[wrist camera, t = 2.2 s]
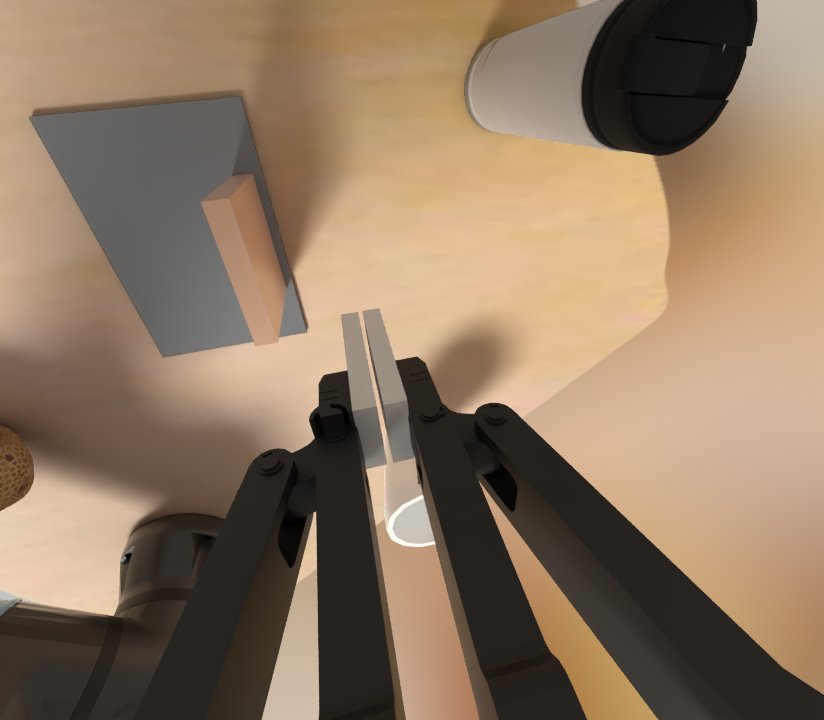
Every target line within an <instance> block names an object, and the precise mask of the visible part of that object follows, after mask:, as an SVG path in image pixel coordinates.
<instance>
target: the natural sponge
mask: <svg viewBox="0 0 824 720" xmlns="http://www.w3.org/2000/svg"><path fill="white" fill-rule="evenodd" d="M33 480H34V466H33V459H32V456H31V453H30V451H29V450H28V448H27V447H26V446H25V444H24V443H23V441H22V440H21V439H20V437H19V436H18V435H17V434H16V433H15V432H13V431H12V430H11V429H9V428H7V427H4V426H0V511H1V510H3V509H5V508H7V507H9V506H11V505H12V504H14V503H16V502H17V501H19V500H20V499H22V498H23V497H24V496H25V495H26V494H27V493H28V492H29V490H30V488H31V486H32V484H33Z"/></svg>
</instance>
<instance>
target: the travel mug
mask: <svg viewBox="0 0 824 720" xmlns="http://www.w3.org/2000/svg"><path fill="white" fill-rule="evenodd" d="M756 23H757V1H756V0H599V1H596V2H594V3H591V4H588V5H586V6H583V7H580V8H577V9H575V10H572V11H569V12H567V13H564V14H561V15H558V16H556V17H553V18H550V19H548V20H545V21H542V22H539V23H537V24H534V25H531V26H529V27H526V28H523V29H521V30H518V31H515V32H512V33H510V34H507V35H504V36H502V37H499V38H496V39H494V40H492V41H490V42H488V43H487V44H485V45H484V46H483V47H482V48H481V49H480V50H479V51H478V52H477V54H476V55H475V56H474V58H473V60H472V62H471V64H470V66H469V68H468V71H467V74H466V79H465V85H464V96H465V103H466V106H467V109H468V112H469V114H470V116H471V118H472V119H473V120H474V122H475V123H476V124H477V125H478V126H480V127H481V128H482V129H485V130H487V131H490V132H497V133H503V134H510V135H516V136H523V137H529V138H536V139H543V140H549V141H556V142H562V143H569V144H575V145H582V146H588V147H595V148H602V149H608V150H615V151H631V152H637V153H644V154H650V155H657V156H661V155H669V154H673V153H675V152H678V151H680V150H682V149H684V148H686V147H687V146H689V145H691V144H692V143H694V142H695V141H696V140H697V139H698V138H700V137H701V136H702V135H703V134H704V133H705V132H706V131H707V130H708V129H709V128H710V127H711V126H712V125H713V124H714V123H715V122H716V120H717V119H718V117H719V115H720V114H721V112H722V111H723V109H724V108H725V106H726V104H727V103H728V101H729V100H726V98H727V97H728V96H729V94H730V93H731V92H732V90H733V87H734V85H735V83H736V81H737V79H738V77H739V75H740V72H741V69H742V66H743V63H744V60H745V58H746V50H747V46H752V42H753V38H754V33H755V28H756Z"/></svg>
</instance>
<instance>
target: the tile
mask: <svg viewBox="0 0 824 720" xmlns="http://www.w3.org/2000/svg"><path fill="white" fill-rule="evenodd" d="M201 204H202V207H203V210H204V212H205V215H206V218H207V220H208V223H209V225H210V228H211V231H212V233H213V236H214V239H215V241H216V244H217V246H218V249H219V252H220V254H221V257H222V260H223V262H224V265H225V267H226V270H227V273H228V275H229V278H230V280H231V283H232V286H233V288H234V291H235V294H236V296H237V299H238V301H239V304H240V307H241V309H242V312H243V315H244V317H245V320H246V322H247V325H248V328H249V330H250V333H251V335H252V338H253V341H254V343H255V346H260V345H266V344H271V343H277V342H278V338H279V332H280V326H281V320H282V314H283V308H284V302H285V295H286V289H287V288H286V285H285V282H284V278H283V275H282V271H281V268H280V265H279V261H278V258H277V255H276V251H275V248H274V244H273V241H272V238H271V234H270V231H269V227H268V224H267V221H266V217H265V214H264V210H263V207H262V204H261V200H260V197H259V193H258V190H257V187H256V183H255V180H254V177H253V173H251V174H243V175H234V176H231V177H230V178H229V179H227V180H226V181H225V182H224V183H223V184H222V185H220V186H219V187H218V188H217V189H216V190H214V191H213V192H212V193H211V194H210V195H208V196H207V197H206V198H205V199H204V200H202V201H201Z"/></svg>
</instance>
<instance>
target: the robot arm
mask: <svg viewBox="0 0 824 720" xmlns="http://www.w3.org/2000/svg"><path fill="white" fill-rule="evenodd" d="M363 317H364V322H365V328H366V334H367V339H368V345H369V350H370V356H371V362H372V366H373V371H374V376H375V380H376V385H377V390H378V394H379V399H380V404H381V408H382V413H383V418H384V422H385V427H386V432H387V436H388V441H389V446H390V450H391V455H392V460H393V463H395V462H399V461H404V460H408V459H413V458H414V457H415V460H416V469H417V478H418V485H419V484H420V485H421V489H422V493H423V497H424V501H425V505H426V509H427V513H428V517H429V521H430V525H431V529H432V533H433V536H434V540H435V544H436V548H437V552H438V556H439V560H440V564H441V568H442V572H443V575H444V580H445V584H446V587H447V591H448V595H449V599H450V603H451V607H452V611H453V615H454V619H455V623H456V627H457V630H458V635H459V638H460V642H461V646H462V650H463V654H464V658H465V661H466V666H467V670H468V674H469V677H470V682H471V686H472V689H473V693H474V697H475V701H476V705H477V710H478V714H479V720H587V719H586V716H585V714H584V712H583V709H582V707H581V705H580V702H579V700H578V698H577V695H576V693H575V691H574V688H573V686H572V684H571V682H570V680H569V677H568V675H567V673H566V671H565V669H564V668H563V666H562V664H561V663H560V661H559V660H558V659H557V658H556V657H555V656H554V655H553V654H552V653H551V652H550V650H549V649H548V647H547V645H546V643H545V641H544V638H543V636H542V634H541V631H540V629H539V626H538V624H537V621H536V619H535V617H534V614H533V612H532V609H531V607H530V604H529V602H528V600H527V597H526V595H525V592H524V590H523V587H522V585H521V583H520V580H519V578H518V575H517V573H516V570H515V568H514V566H513V563H512V561H511V558H510V556H509V553H508V551H507V549H506V546H505V544H504V541H503V539H502V536H501V534H500V532H499V529H498V527H497V525H496V522H495V519H494V517H493V515H492V513H491V510H490V508H489V505H488V503H487V500H486V498H485V495H484V493H483V491H482V488H481V486H480V483H481V484H482V485H483V487H484V488H485V489H486V491H487V492H488V493H489V495H490V496H491V497H492V499H493V500H494V501H495V503H496V504H497V505H498V506H499V508H500V509H501V510H502V512H503V513H504V515H505V516H506V517H507V519H508V520H509V521H510V523H511V524H512V525H513V527H514V528H515V529H516V530H517V532H518V533H519V534H520V536H521V537H522V539H523V540H524V541H525V543H526V544H527V545H528V547H529V548H530V549H531V551H532V552H533V553H534V554H535V556H536V557H537V559H538V560H539V561H540V563H541V564H542V565H543V567H544V568H545V569H546V570H547V572H548V573H549V575H550V576H551V577H552V579H553V580H554V581H555V583H556V584H557V585H558V587H559V588H560V589H561V591H562V592H563V593H564V595H565V596H566V597H567V599H568V600H569V601H570V602H571V604H572V605H573V606H574V608H575V609H576V611H577V612H578V613H579V615H580V616H581V617H582V618H583V620H584V621H585V623H586V624H587V625H588V626H589V628H590V629H591V630H592V632H593V633H594V634H595V636H596V637H597V639H598V640H599V641H600V642H601V644H602V645H603V647H604V648H605V649H606V651H607V652H608V653H609V654H610V656H611V657H612V658H613V660H614V661H615V662H616V664H617V665H618V667H619V668H620V669H621V670H622V672H623V673H624V675H625V676H626V677H627V678H628V680H629V681H630V682H631V684H632V685H633V686H634V688H635V689H636V690H637V692H638V693H639V694H640V696H641V697H642V698H643V700H644V701H645V702H646V704H647V705H648V706H649V708H650V709H651V710H652V712H653V713H654V714H655V716H656V717H657V718H658V720H824V695H823V694H821V693H820V692H818V691H817V690H815V689H814V688H812V687H811V686H809V685H808V684H806V683H805V682H803V681H802V680H800V679H799V678H797V677H796V676H794V675H793V674H791V673H790V672H788V671H787V670H785V669H783V668H782V667H781V666H780V665H779V664H778V663H777V662H776V661H775V660H774V659H773V658H772V657H771V656H770V655H769V654H768V653H767V652H765V650H763V649H762V648H761V647H760V646H759V645H758V644H757V643H756V642H755V641H754V640H753V639H752V638H751V637H750V636H749V635H748V634H747V633H746V632H745V631H744V630H743V629H742V628H740V627H739V626H738V625H737V624H736V623H735V622H734V621H733V620H732V619H731V618H730V617H729V616H728V615H727V614H726V613H725V612H724V611H723V610H722V609H721V608H720V607H718V606H717V605H716V604H715V603H714V602H713V601H712V600H711V599H710V598H709V597H708V596H707V595H706V594H705V593H704V592H703V591H702V590H701V589H700V588H699V587H698V586H696V585H695V584H694V583H693V582H692V581H691V580H690V579H689V578H688V577H687V576H686V575H685V574H684V573H683V572H682V571H681V570H680V569H679V568H678V567H677V566H676V565H675V564H673V563H672V562H671V561H670V560H669V559H668V558H667V557H666V556H665V555H664V554H663V553H662V552H661V551H660V550H659V549H658V548H657V547H656V546H655V545H654V544H653V543H652V542H650V541H649V540H648V539H647V538H646V537H645V536H644V535H643V534H642V533H641V532H640V531H639V530H638V529H637V528H636V527H635V526H634V525H632V523H631V522H630V521H628V520H627V519H626V518H625V517H624V516H623V515H622V514H621V513H620V512H619V511H618V510H617V509H616V508H615V507H614V506H613V505H612V504H611V503H610V502H609V501H607V500H606V499H605V498H604V497H603V496H602V495H601V494H600V493H599V492H598V491H597V490H596V489H595V488H594V487H593V486H592V485H591V484H590V483H589V482H588V481H587V480H586V479H584V478H583V477H582V476H581V475H580V474H579V473H578V472H577V471H576V470H575V469H574V468H573V467H572V466H571V465H570V464H569V463H568V462H567V461H566V460H565V459H563V457H561V456H560V455H559V454H558V453H557V452H556V451H555V450H554V449H553V448H552V447H551V446H550V445H549V444H548V443H547V442H546V441H545V440H544V439H543V438H542V437H541V436H540V435H538V434H537V433H536V432H535V431H534V430H533V429H532V428H531V427H530V426H529V425H528V424H527V423H526V422H525V421H524V420H523V419H522V418H521V417H520V416H519V415H518V414H517V413H515V412H514V411H513V410H512V409H511V408H509V407H508V406H506V405H503V404H500V403H488V404H484V405H482V406H480V407H479V408H478V409H477V410H476V412H475V414H463V413H456V412H453V411H451V410H449V409H448V408H447V406H445V405H444V404H443V403H442V402H441V400H440V397H439V395H438V392H437V390H436V388H435V385H434V383H433V381H432V379H431V376H430V373H429V371H428V369H427V366H426V364H425V362H423V361H422V360H421V359H420V358H418V357H412V358H407V359H402V360H396V361H395V359H394V355H393V352H392V349H391V346H390V342H389V339H388V336H387V333H386V329H385V326H384V323H383V319H382V316H381V313H380V310H379V309H373V310H367V311H363ZM341 318H342V327H343V336H344V344H345V353H346V361H347V370H348V371H343V372H337V373H332V374H327V375H324V376H323V377H322V379H321V381H320V382H319V407H317V408H315V409H314V411H313V412H312V413H311V415H310V418H309V422H310V425H311V428H312V431H313V434H314V437H315V439H314V440H313V441H312V442H311V443H310V444H308V445H307V446H305V447H304V448H302V449H300V450H298V451H296V452H294V453H290V452H289V451H287V450H286V449H272V450H268V451H266V452H264V453H262V454H260V455H259V456H258V457H257V458H255V459H254V461H253V462H252V463H251V465H250V466H249V469H248V471H247V473H246V475H245V477H244V479H243V482H242V484H241V486H240V488H239V490H238V492H237V495H236V497H235V499H234V501H233V503H232V506H231V508H230V510H229V512H228V514H227V516H226V519H225V521H224V520H222V519H219V518H215V517H210V516H204V515H174V516H168V517H164V518H160V519H157V520H154V521H151V522H149V523H147V524H145V525H143V526H141V527H140V528H138V529H137V530H136V531H135V532H134V533H133V534H132V535H131V536H130V538H129V540H128V542H127V544H126V547H125V549H124V551H123V554H122V557H121V565H120V586H119V604H118V607H117V610H116V612H115V615H114V616H109V615H102V614H96V613H90V612H84V611H77V610H71V609H65V608H59V607H53V606H46V605H40V604H34V603H28V602H22V599H15V600H12V601H8V600H0V720H262V716H263V712H264V708H265V704H266V700H267V696H268V692H269V688H270V684H271V680H272V676H273V672H274V668H275V664H276V661H277V656H278V653H279V649H280V645H281V641H282V637H283V633H284V629H285V625H286V621H287V617H288V613H289V609H290V606H291V602H292V598H293V594H294V590H295V586H296V582H297V578H298V574H299V570H300V566H301V562H302V558H303V554H304V550H305V547H306V543H307V539H308V535H309V531H310V527H311V523H312V519H313V513H314V512H316V523H317V584H318V585H317V586H318V648H319V649H318V650H319V720H406V718H405V712H404V705H403V699H402V692H401V686H400V680H399V674H398V667H397V660H396V654H395V648H394V641H393V635H392V629H391V622H390V616H389V610H388V603H387V596H386V590H385V584H384V577H383V571H382V564H381V558H380V552H379V545H378V539H377V532H376V526H375V519H374V513H373V507H372V500H371V494H370V487H369V481H368V477H367V473H366V469H368V468H372V467H377V466H381V465H386V464H387V460H386V455H385V449H384V444H383V438H382V433H381V428H380V422H379V417H378V411H377V406H376V401H375V396H374V391H373V386H372V381H371V375H370V370H369V365H368V360H367V355H366V350H365V345H364V340H363V335H362V330H361V325H360V320H359V315H358V312H355V313H349V314H343V315H341ZM478 480H479V481H480V483H479V481H478Z"/></svg>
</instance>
